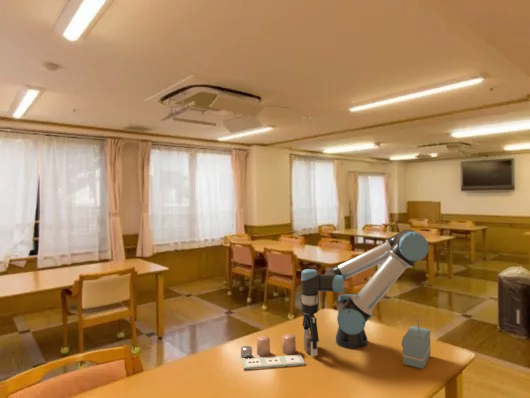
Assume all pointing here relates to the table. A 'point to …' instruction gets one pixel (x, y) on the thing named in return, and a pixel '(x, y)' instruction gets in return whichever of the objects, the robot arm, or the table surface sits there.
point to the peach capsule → (289, 344)
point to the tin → (246, 352)
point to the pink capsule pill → (263, 345)
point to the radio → (416, 347)
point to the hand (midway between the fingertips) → (310, 349)
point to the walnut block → (307, 343)
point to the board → (273, 362)
